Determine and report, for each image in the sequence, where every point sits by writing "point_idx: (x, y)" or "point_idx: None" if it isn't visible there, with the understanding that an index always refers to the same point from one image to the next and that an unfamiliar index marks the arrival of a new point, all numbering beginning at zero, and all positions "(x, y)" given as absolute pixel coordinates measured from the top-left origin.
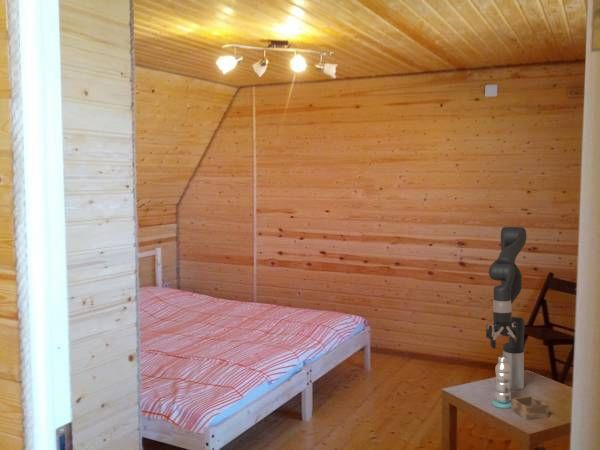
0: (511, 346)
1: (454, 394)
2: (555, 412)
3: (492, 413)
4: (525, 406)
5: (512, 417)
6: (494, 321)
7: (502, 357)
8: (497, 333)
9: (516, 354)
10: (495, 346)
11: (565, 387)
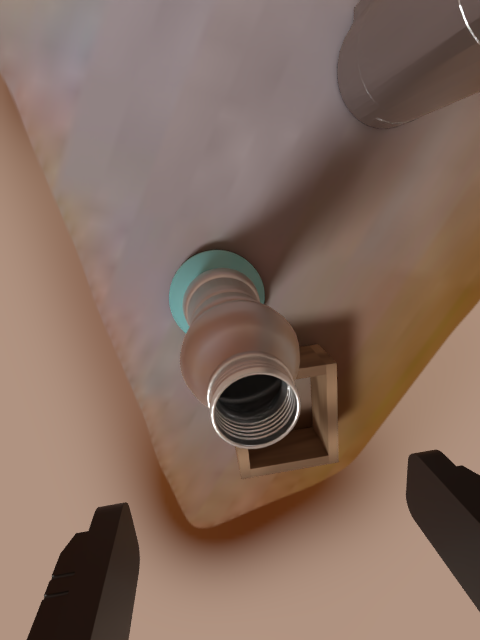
0: (407, 495)
1: (18, 101)
2: (370, 398)
3: (134, 375)
4: (245, 463)
5: (196, 419)
6: None
7: (268, 365)
8: None
9: None
10: (130, 594)
11: None
